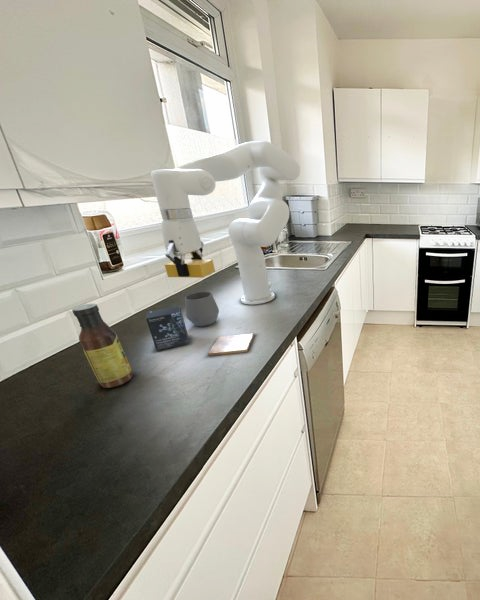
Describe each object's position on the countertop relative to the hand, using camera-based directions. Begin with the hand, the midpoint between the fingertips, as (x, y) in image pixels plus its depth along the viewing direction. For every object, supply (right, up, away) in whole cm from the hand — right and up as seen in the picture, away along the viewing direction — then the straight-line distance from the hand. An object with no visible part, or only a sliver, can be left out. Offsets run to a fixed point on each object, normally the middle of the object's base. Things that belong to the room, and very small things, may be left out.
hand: (191, 272), depth 99 cm
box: (-1, -22, -6) cm, 23 cm away
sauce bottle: (-3, -29, -23) cm, 37 cm away
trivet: (+17, -22, -7) cm, 28 cm away
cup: (0, -17, +7) cm, 18 cm away
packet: (0, -1, 0) cm, 1 cm away
